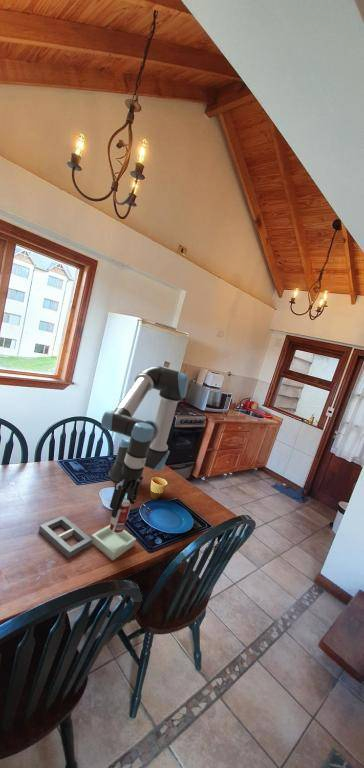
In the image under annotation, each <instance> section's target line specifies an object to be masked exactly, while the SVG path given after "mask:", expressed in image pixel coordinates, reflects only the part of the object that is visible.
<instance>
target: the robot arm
mask: <svg viewBox="0 0 364 768" xmlns="http://www.w3.org/2000/svg"><path fill="white" fill-rule="evenodd" d="M188 387H189V376H188V375H187V373H186V374H185V373H183V372H182V371H177V370H174V369H170V368H166V367H165V366H161V365H159V366H158V365H154V366H149V367H147V368H145V369H143V370H142V371H140V372H138V374H136V376H135V377H134V383H133V384H132V386H131V387H130V388H129V390H128V391H127V392H126V394H125V395H124V397H123V398H122V399H121V401H120V402H119V404H118V405H117V406H116V408H115V409H114V410H111V409H107V410H106V411H105V412H104V413H103V416H102V418H101V423H100V424H101V427H102V428H103V429H106V430H107V431H109V432H113V433H116V434H120V435H124V436H123V437H122V438H121V439H120V441H119V444H118V446H119V447H118V449H117V453H116V456H115V457H116V458H115V461H114V463H113V465H112V466H111V467H110V469H109V471H108V477H110V478H109V479H110V480H111V481H112V482H114V489H113V493H112V496H111V499H110V503H109V508H110V509H111V510H112V512H111V517H110V520H109V523H110V524H111V523H112V524H113V525H114V526H116V525H117V522H118V518H119V515H120V511H121V509H120V507H121V504H122V502H123V500H124V498H126V499H128V500H129V501H130V508H129V512H128V515H127V519H126V521H127V520H128V518H129V515H130V510H131V508H132V507H131V506H132V505H134V504H135V503H136V502H135V501H137V499H138V495H139V493H140V488H141V487H140V486H141V484H142V481H143V479H144V476H143V472H144V467H145V468H148V469H151V470H152V471H154V470H155V471H158V472H160V471H162V470H163V468H164V466H165V464H166V462H167V459H168V457H169V455H170V453H171V451H170V450H169V449H168V448H169V446H168V444H167V442H168V439H169V436H170V435H169V434H170V431H171V428H172V424H173V420H174V417H175V413H176V410H177V407H178V403H180V402H181V401H182V399H184V398H186V397H187V391H188ZM152 390H157V391H159V394H158V395H159V398H160V401H159V406H158V409H157V413H156V417H155V421H154V420H149V419H148V420H146V421H145V420H141V419H138V418H135V417H133V416H134V415H135V413H136V412H137V410H138V408H139V407H140V405H141V404H142V402H143V400H144V399H145V397H146V395H147V394H148V392H150V391H152Z"/></svg>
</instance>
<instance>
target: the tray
mask: <svg viewBox="0 0 364 768" xmlns="http://www.w3.org/2000/svg"><path fill="white" fill-rule="evenodd" d="M110 525H111V523H110V524H109V525H107V526H104V527H103V528H102V529H101V528H100V529H99V530H98V531H96V532H94V533H93V534H91V537H90V538H91V539H92V542H91V545H93V546H95V547H96V548H97V549H99V551H101V553H103V554H105V556H107V558H109V559H110V560H111V561H114V560H116V559H117V558H119V557H120V556H121V555H122V554H124V553H125V552H127V551H128V550H130V549H131V548H132V547H134V546H135V544H136V541H137V538H136V537H135V536H133V535H132V534H130V533H129V532H128V531H126V530H125V529H124V530H123V531H122V532H121V533H119V534H115V533H113V532H111V530H110Z"/></svg>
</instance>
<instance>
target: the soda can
mask: <svg viewBox="0 0 364 768" xmlns="http://www.w3.org/2000/svg"><path fill="white" fill-rule="evenodd" d="M129 508H130V501H129V500H128V499H127V497H124V500H123V502H122V504H121V507H120V509H121V511H120V515H119V518H118V522H117V525H116V526H114V525H113V524H112V523H110V524H111V525H110V524H109V525H110V530H111V532H113V533H115V534H119V533H121V532H122V531H123V530H125V526H126V522H127V520H128V518H127V515H128V516H129V514H128V512H129V513H130V511H129ZM130 509H131V508H130ZM126 519H127V520H126Z"/></svg>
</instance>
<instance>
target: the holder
mask: <svg viewBox="0 0 364 768" xmlns="http://www.w3.org/2000/svg"><path fill="white" fill-rule="evenodd" d="M59 526H61V527H63V529H64V530H66V531H64V532H62V533H60V534H57V533H55V531H54V530H52V529H55V528H56V527H59ZM38 532H39V533H40V534H41V535H42V536H43V537H45V538H46V539H47V540H48V541H49V542H50V543H51V544H52V545H53V546H54V547H55V548H57V550H58V551H60V552H61V553H62V554H63V555H64V556H65V557H66V558H67V559H70V558H72V557H73V556H74V555H77V554H78V553H80V552H81V551H83V550H85V549H86V548H88V547H90V546H91V545H92V543H91V542H92V539H91V537H90V536H89V535H87V534H86V533H85V532H83V530H82V529H80V528H79V527H78V526H77V525H76V524H74V523H73V522H72V521H70V520H69V519H68V518H67V517H66V516H65V515H61V516H58V517H56V518H52V519H51V520H49V521H46V522H45V523H42V524H40V525H39V528H38ZM71 536H73V537H74V538H75V539H77V540H78V541H79V542H77V543H75V544H74V545H72V546H70V544H68V543H67V542H66V541H65V540H66V539H68V538H70V537H71Z"/></svg>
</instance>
